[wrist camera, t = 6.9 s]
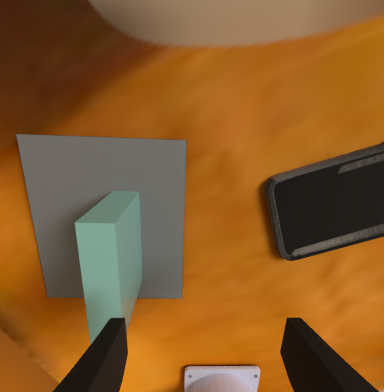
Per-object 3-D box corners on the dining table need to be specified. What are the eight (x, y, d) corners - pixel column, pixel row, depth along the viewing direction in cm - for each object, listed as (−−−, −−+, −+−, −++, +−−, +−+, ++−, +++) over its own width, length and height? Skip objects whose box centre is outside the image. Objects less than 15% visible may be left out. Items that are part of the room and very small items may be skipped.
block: (142, 279, 19) (123, 343, 13) (119, 278, 19) (90, 343, 13) (139, 191, 17) (114, 223, 11) (113, 190, 17) (74, 222, 11)
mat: (182, 293, 20) (181, 298, 20) (51, 292, 20) (47, 297, 19) (186, 140, 16) (186, 140, 16) (22, 134, 16) (16, 134, 15)
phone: (458, 216, 18) (282, 264, 19) (443, 211, 19) (277, 256, 20) (465, 120, 16) (265, 179, 17) (447, 121, 17) (260, 176, 18)
